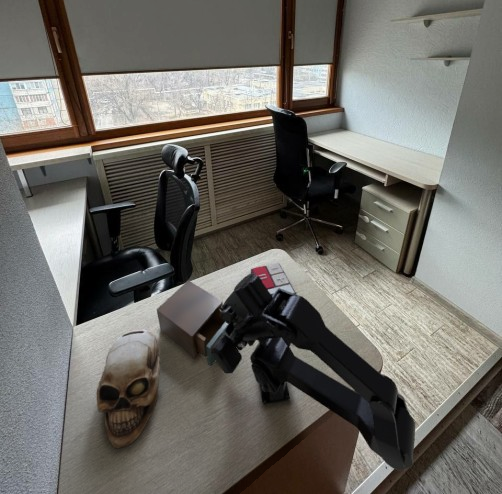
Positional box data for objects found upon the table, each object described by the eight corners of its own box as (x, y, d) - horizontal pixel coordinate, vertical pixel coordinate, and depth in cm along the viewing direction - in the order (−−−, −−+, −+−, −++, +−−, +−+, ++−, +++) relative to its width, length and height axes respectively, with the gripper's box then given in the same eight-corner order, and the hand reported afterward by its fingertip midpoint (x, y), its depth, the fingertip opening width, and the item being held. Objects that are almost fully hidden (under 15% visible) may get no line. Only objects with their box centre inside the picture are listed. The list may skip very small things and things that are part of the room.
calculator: (279, 260, 98) (296, 292, 84) (278, 270, 99) (296, 302, 86) (250, 267, 95) (263, 301, 82) (250, 276, 97) (263, 311, 83)
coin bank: (116, 458, 53) (102, 413, 49) (89, 393, 65) (76, 352, 61) (184, 392, 64) (176, 351, 60) (150, 346, 76) (142, 309, 72)
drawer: (240, 334, 76) (239, 316, 73) (214, 370, 67) (213, 351, 64) (204, 310, 83) (202, 293, 80) (177, 340, 74) (174, 321, 71)
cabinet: (223, 323, 80) (222, 301, 76) (194, 359, 70) (192, 336, 67) (190, 301, 87) (188, 280, 83) (160, 331, 77) (156, 309, 74)
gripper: (264, 265, 67) (230, 279, 76) (215, 326, 52) (181, 333, 62) (291, 303, 66) (253, 313, 75) (249, 376, 51) (209, 375, 61)
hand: (226, 330), depth 68 cm, fingers closed
